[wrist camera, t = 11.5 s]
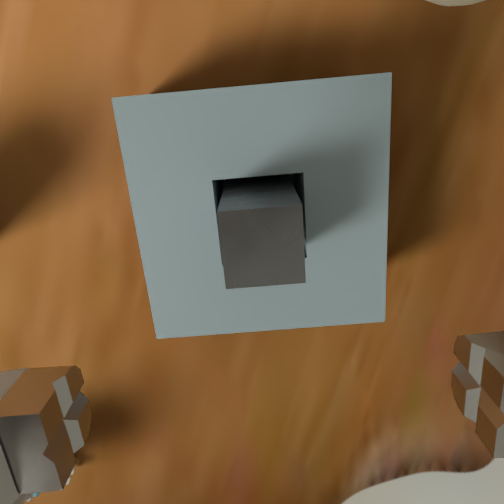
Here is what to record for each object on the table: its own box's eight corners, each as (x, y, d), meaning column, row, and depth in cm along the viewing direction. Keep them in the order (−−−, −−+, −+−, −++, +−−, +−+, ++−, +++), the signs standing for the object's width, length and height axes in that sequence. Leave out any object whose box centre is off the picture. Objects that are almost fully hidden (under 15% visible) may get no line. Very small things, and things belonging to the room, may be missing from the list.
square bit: (287, 220, 25) (305, 282, 17) (234, 224, 25) (225, 289, 17) (284, 166, 24) (302, 204, 16) (228, 171, 24) (216, 211, 16)
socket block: (357, 275, 27) (385, 321, 22) (175, 289, 28) (156, 338, 22) (357, 78, 23) (391, 72, 18) (144, 97, 24) (111, 97, 18)
